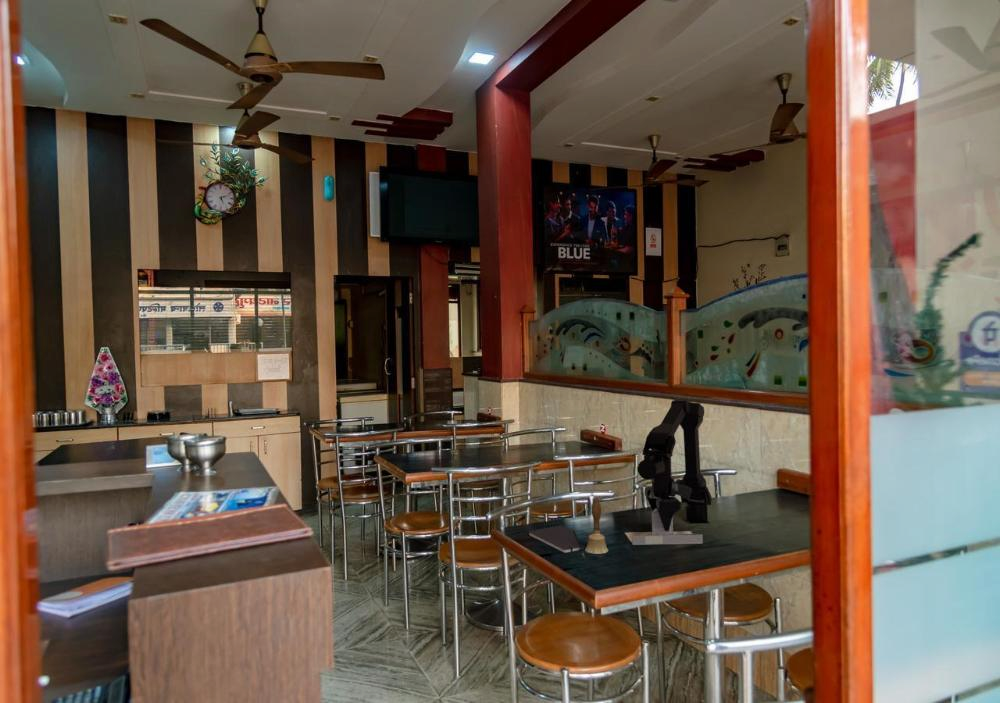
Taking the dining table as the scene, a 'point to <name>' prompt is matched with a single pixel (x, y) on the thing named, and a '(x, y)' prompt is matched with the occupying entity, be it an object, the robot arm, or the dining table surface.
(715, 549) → the dining table surface
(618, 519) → the dining table surface
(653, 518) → the medicine box
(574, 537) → the notebook
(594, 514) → the hand bell
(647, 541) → the rail
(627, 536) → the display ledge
